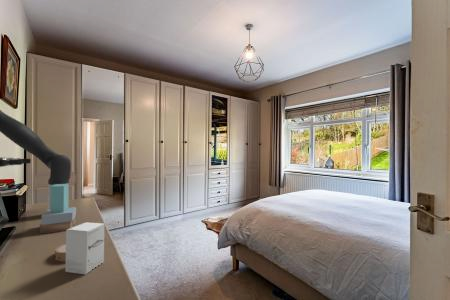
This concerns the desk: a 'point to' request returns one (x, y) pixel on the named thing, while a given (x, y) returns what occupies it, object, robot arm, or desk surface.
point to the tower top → (58, 216)
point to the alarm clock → (63, 252)
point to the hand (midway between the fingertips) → (26, 161)
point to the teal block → (59, 198)
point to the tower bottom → (57, 226)
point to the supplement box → (84, 247)
